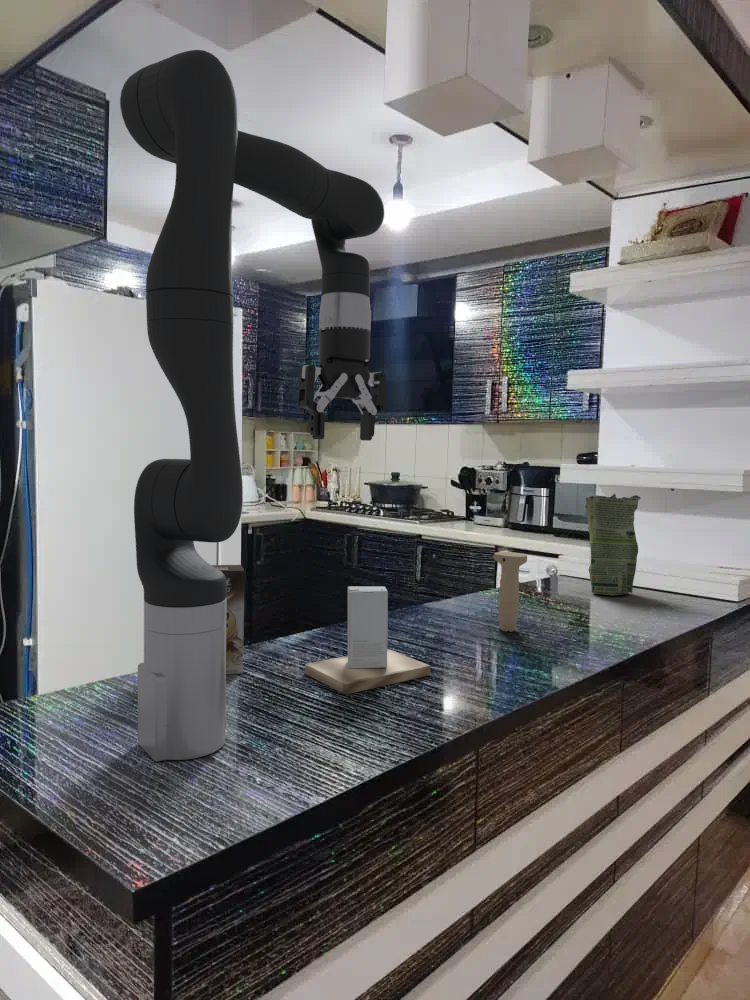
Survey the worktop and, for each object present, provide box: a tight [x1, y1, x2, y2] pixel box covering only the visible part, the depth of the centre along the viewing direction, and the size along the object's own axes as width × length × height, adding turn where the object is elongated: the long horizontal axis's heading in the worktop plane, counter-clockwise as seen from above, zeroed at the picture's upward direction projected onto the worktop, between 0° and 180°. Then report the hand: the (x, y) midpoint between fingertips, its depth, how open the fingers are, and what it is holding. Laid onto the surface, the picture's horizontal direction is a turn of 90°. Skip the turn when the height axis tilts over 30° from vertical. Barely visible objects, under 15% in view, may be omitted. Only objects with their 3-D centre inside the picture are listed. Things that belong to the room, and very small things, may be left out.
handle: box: [493, 551, 528, 633], centre depth 138 cm, size 5×6×15 cm
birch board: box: [304, 647, 431, 695], centre depth 109 cm, size 16×11×2 cm
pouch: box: [584, 493, 641, 597], centre depth 177 cm, size 11×12×25 cm
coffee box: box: [211, 564, 246, 675], centre depth 110 cm, size 9×6×16 cm
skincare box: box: [347, 585, 389, 668], centre depth 109 cm, size 6×4×12 cm
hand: (342, 439), depth 105 cm, fingers open, 8 cm apart
